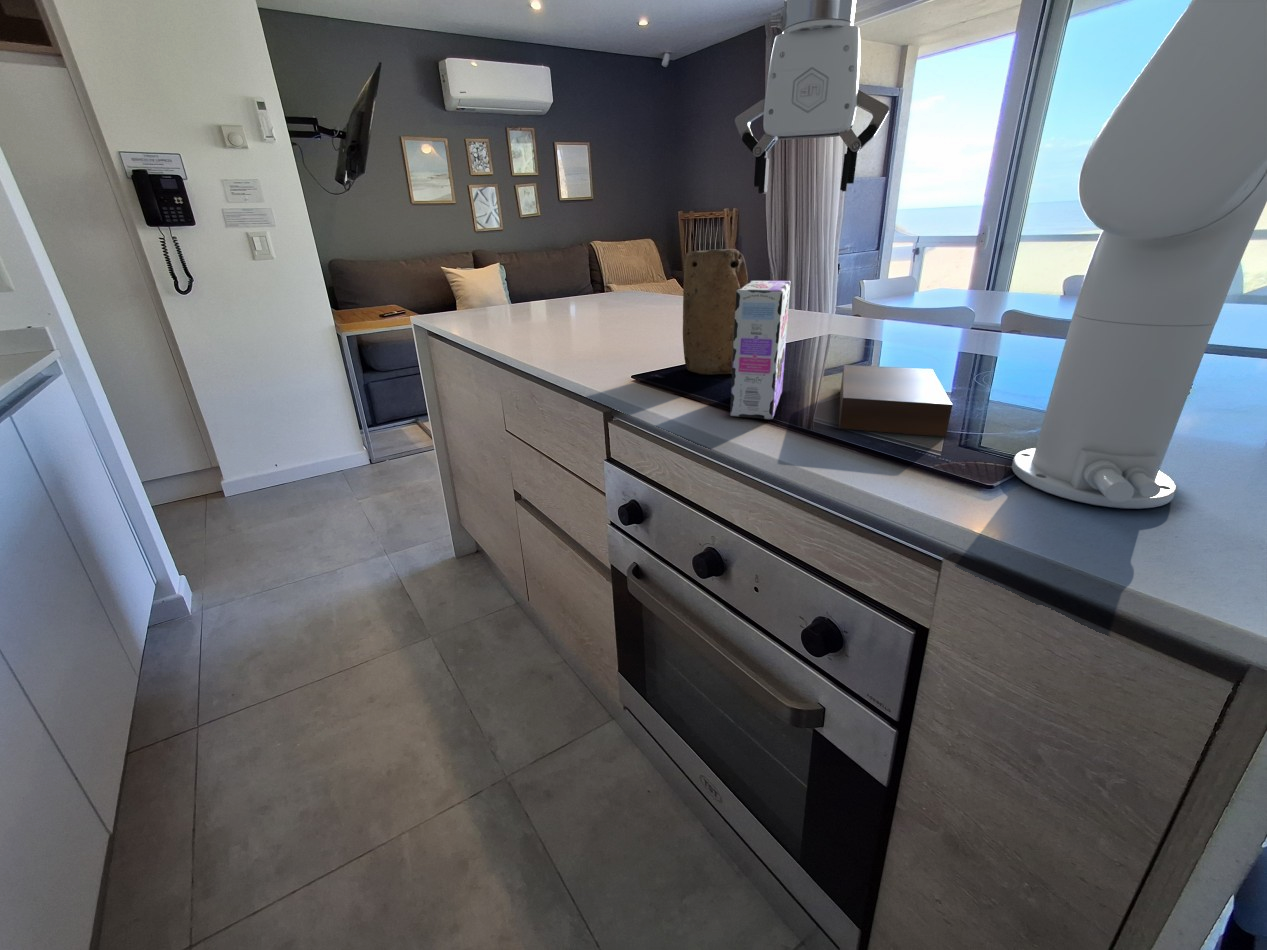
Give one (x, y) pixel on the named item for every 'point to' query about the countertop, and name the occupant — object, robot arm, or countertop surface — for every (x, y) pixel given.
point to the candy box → (759, 348)
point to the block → (711, 308)
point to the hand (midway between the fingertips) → (802, 192)
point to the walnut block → (893, 400)
